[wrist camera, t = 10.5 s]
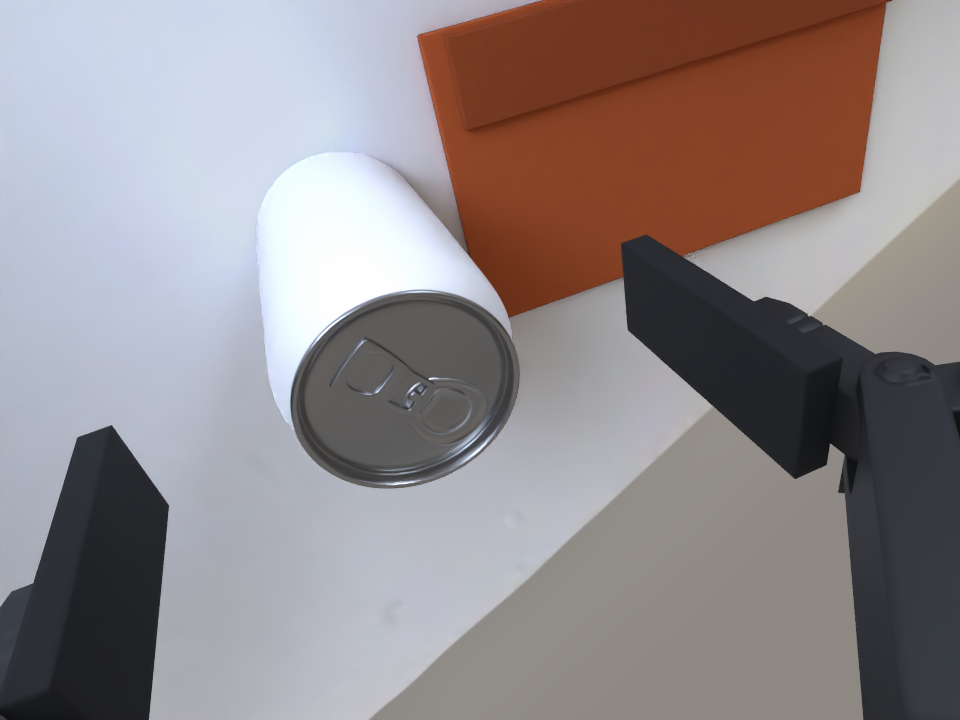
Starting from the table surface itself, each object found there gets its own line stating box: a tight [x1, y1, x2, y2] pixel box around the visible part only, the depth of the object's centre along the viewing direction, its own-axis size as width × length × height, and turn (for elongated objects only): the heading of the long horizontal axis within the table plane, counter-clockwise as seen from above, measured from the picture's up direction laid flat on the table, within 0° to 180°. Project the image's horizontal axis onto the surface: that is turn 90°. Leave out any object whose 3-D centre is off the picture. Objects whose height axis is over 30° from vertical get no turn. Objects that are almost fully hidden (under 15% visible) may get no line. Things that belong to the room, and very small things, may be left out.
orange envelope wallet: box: [417, 0, 892, 318], centre depth 27 cm, size 20×12×1 cm, turn 102°
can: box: [256, 151, 520, 488], centre depth 20 cm, size 6×6×12 cm
